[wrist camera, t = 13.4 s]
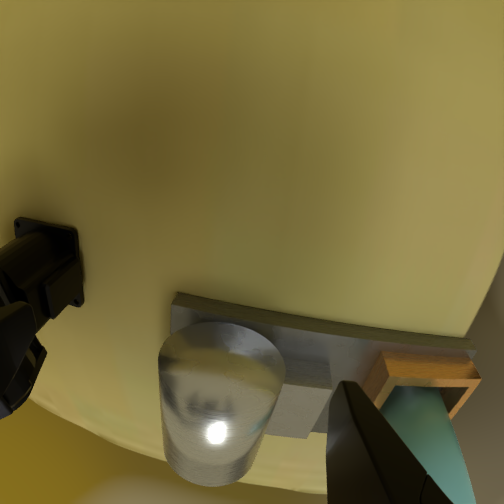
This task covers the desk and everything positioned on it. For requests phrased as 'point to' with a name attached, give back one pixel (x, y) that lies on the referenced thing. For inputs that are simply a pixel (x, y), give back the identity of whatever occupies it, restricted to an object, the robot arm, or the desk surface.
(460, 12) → the desk surface
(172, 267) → the desk surface
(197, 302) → the motor assembly
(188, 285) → the desk surface
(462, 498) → the teal cylinder grey dome
